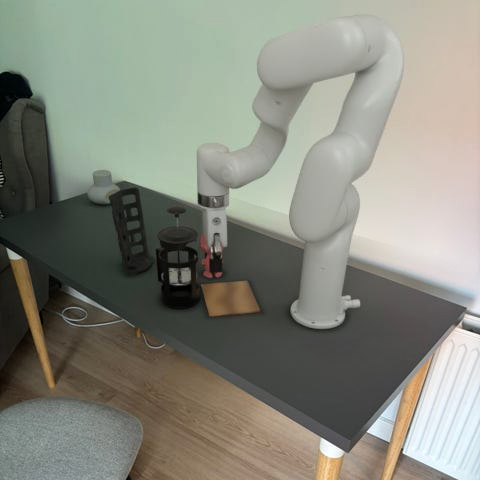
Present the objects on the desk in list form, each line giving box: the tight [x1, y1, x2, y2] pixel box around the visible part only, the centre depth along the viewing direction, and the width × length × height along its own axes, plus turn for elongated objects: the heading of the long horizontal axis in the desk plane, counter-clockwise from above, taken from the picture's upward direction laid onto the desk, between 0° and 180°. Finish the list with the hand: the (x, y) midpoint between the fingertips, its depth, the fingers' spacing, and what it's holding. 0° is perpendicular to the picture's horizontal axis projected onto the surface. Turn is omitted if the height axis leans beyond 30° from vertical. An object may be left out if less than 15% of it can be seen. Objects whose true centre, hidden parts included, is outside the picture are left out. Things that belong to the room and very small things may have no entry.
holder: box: [109, 187, 153, 276], centre depth 130 cm, size 11×8×20 cm
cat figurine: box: [199, 233, 225, 279], centre depth 129 cm, size 7×7×12 cm
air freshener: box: [86, 169, 121, 206], centre depth 169 cm, size 11×8×10 cm
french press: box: [155, 205, 201, 310], centre depth 116 cm, size 12×9×23 cm
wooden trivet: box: [200, 280, 261, 317], centre depth 123 cm, size 12×14×1 cm
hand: (213, 264), depth 131 cm, fingers closed on cat figurine, 6 cm apart
